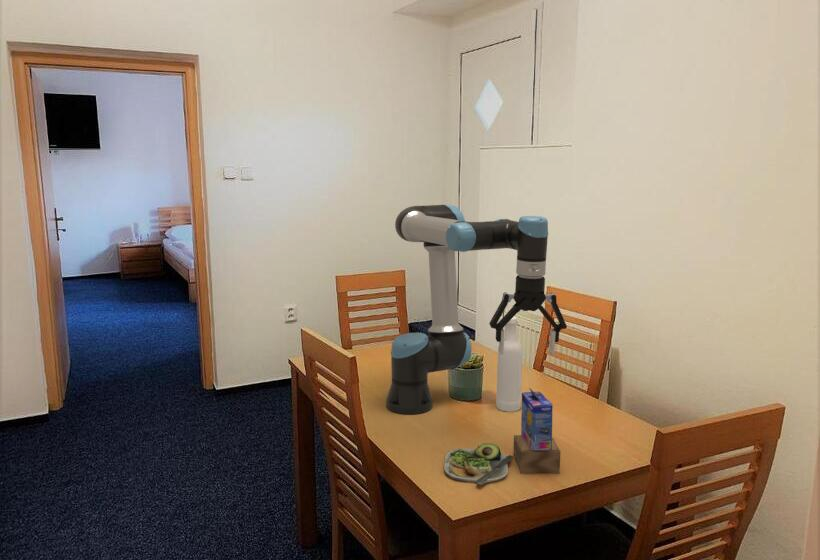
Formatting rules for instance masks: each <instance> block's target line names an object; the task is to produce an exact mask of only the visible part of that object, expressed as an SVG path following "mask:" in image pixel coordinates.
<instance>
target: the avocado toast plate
mask: <svg viewBox="0 0 820 560" xmlns="http://www.w3.org/2000/svg"><path fill="white" fill-rule="evenodd" d="M513 459H514V457H513V455H511V454H509V455H505V454H504V453H502V452H501V449H500V447H499V446H498V445H496V444H495V443H491V442H490V443H489V442H486V443H482V444H480V445H477V448H475V449H474V448H473V449H472V448H471V449H470V448H454V449H451V450H450V451H448V452H447V453H446V454H445V457H444V464H443V471H444V472H445V474H446V475H447V476H449V477H451V478H452V479H454V480H456V481H460V482H465V483H474V484H476V485H478V486H480V485H481V486H482V485H484V484H486V483H491V482H496V481H500V480H501V479H504V478H506V476H507V475H508V472H509V471H508V464H509V463H510V462H512V460H513ZM453 467H456V468H459V469H463V470H466V473H467V475H464V476H463V475H459V474H457V473H456V472H455V471H454V470H453Z"/></svg>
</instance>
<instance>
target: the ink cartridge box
mask: <svg viewBox="0 0 820 560" xmlns="http://www.w3.org/2000/svg"><path fill="white" fill-rule="evenodd" d="M529 390H530V391H526V392H525V391H524V392H521V418H520V419H521V421H520V423H521V424H520V425H521V427H520V430H521V431H520V433H521V434H520V435H522V437H523V438H524V440H525V441H526V442H527V444H528V445H529V447H530V448H531V449H532V450H551V449H552V438H553V412H554V411H553V409H554V407H553V403H552V402H551V401H550V400H549V399H547V398H546V397H545V395H544V394H543V393H542V392H541V391H534V390H532V388H531V387H529Z"/></svg>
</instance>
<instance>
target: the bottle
mask: <svg viewBox="0 0 820 560" xmlns="http://www.w3.org/2000/svg"><path fill="white" fill-rule="evenodd" d="M517 327H518V318H517V317H516V316H514V317H513V318H512V319H511V320H510V321H509V322H508V323H507V324H506V325H505V326H504V350H503V355H500V353H499V346H498V347H497V368H496V369H497V370H496V371H497V372H496V374H497V375H496V376H497V377H496V397H495V398H496V399H495V403H496V404H495V406H496V408H497V409H498V410H500V411H502V412H508V413H511V412H512V413H514V412H518V411H519V410H520V409H522V378H523V377H522V375H523V373H522V372H523V352H524V350H523V346H522V344H521V341H519V340H518V338H517V330H518V329H517Z"/></svg>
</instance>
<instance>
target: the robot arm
mask: <svg viewBox="0 0 820 560" xmlns="http://www.w3.org/2000/svg"><path fill="white" fill-rule="evenodd" d="M394 225H395V226H394V227H395V232H396V233H397V235H398V237H400V238H401V239H402V240H404V241H406V242H410V243H423V249H425V251H427V252H428V263H429V264H428V266H429V284H430V285H429V288H430V305H431V320H432V321H431V326H430V327H429V328H428V329H427V333H428V335H427V334H426V333H423V332H417V331H416V332H408V333H403V334H400V335H398V336H396V337H395V338H394V339H393V340H392V342H391V350H390V355H391V356H390V357H391V363H390V364H391V365H390V366H391V384H390V387H389V390H388V393H387V395H386V400H385V402H386V403H385V404H386V405H385V406H386V408H387V410H389V412H390V411H391V412H393V413H395V414H400V415H401V414H402V415H417V414H418V415H419V414H422V413H426V412H428V411H430V410H432V409H433V407H434V405H433V404H434V403H433V401H434V400H433V397H432V393H431V390H430V389H431V388H430V387H429V384H428V374H430V373H436V372H442V371H449V370H456V369H459V368H458V367H460V366H461V365H463V364H464V363H465V362H468V363H469V361H470V359H471V356H472V342H471V340H470V336H469V334H467V332H464V327H462V326H461V325H460V323H459V311H458V309H459V308H458V289H457V288H458V286H457V269H456V268H457V267H456V252H459V253H460V252H461V253H462V252H463V253H465V252H473V251H483V250H485V251H486V250H498V249H499V250H501V249H510V250H516V252H517V253H516V269H515V272H516V273H515V274H517V275H516V277H515V288H514V290H515V291H514V293H513V294H510V293H508V292H503V293H502V299H501V302H500V304H499V305H498V307H497V308H496V310H495V312H494V313H493V316H492V317H491V319H490V321H489V323H488V325H489V326H490V328H491V329H494V330H495V340H496V343H497V342H499V344H498V347H499V353H500V355H503V350H504V339H505V329H504V328H505V325H506V324H507V323H508V322H509V321H510V320H511V319H512V318H513V317H516V314H517V313H519V312H520V311H523V312H528V311H530V312H531V311H532V312H536V311H537V310H539V312H541V314H542V315H543V316H544V318H545V319H546V320H547V322H548V323H549V324H550V325H551V326H552V327H553V328H550V330H549V331H550V332H549V343H548V344H549V346H548V347H549V348H548V353H549V354H550V355H551V356H555V350H556V349H555V346H556V343H559V341H560V333H561V331H562V330H564V329H567V327H568V326H567V323H566V321H565V319H564V316H563V314H562V312H561V310H560V308H559V305H558V302H557V295H555V293H553V292H551V293H549V294H546V293H545V288H546V287H545V285H546V278H545V276H546V265H547V251H548V236H549V221H548V219H547V218H546V217H543V216H538V215H537V216H536V215H523V216H521V217H519V218H518V221H517V220H511V219H508V218H498V219H495V220H492V221H491V220H489V221H466V220H465V216H464V214H463V212H462V211H461V210H460V208H458V206H456V205H452V204H436V205H435V204H430V205H413V206H408V207H406V208H404V209H403V210H401V211H400V213H399V214H398V215H397V217H396V218H395V223H394ZM512 300H513V301H514V302H515V303H513V305H512V306H511V308H510V310H508V311H507V313H506V314H505V315H504V316H503V317H502V315H503V313H504V312H505V310H506V308H507V306H508V304H509V303H510V302H511V301H512ZM546 300H547V302H548V303H550V305H551V308H552V310H553V312H554V315H555V316H556V319H557V321H558V323H556V321H555V320H554V319H553V318H552V316H551V315H550V314H549V312H548V311H547V310H546V309H545V308H544V306H543V304H544V302H545V301H546ZM501 317H502V318H501ZM500 318H501V319H500ZM460 368H461V367H460Z"/></svg>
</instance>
